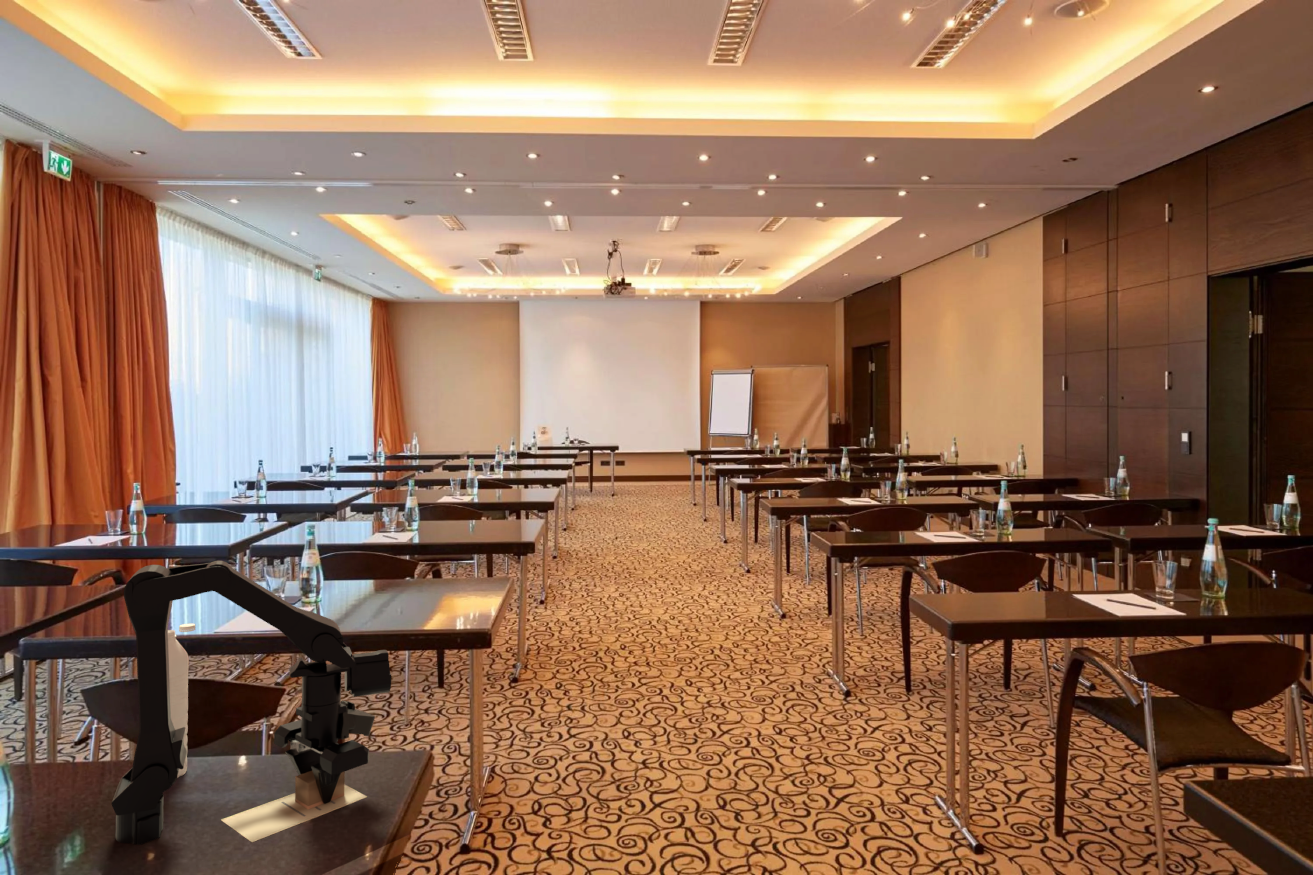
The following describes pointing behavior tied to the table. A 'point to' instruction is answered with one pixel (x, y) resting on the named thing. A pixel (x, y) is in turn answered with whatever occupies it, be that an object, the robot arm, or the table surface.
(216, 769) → the table surface
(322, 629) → the robot arm
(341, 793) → the block
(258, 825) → the birch board
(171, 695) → the water bottle
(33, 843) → the table surface
